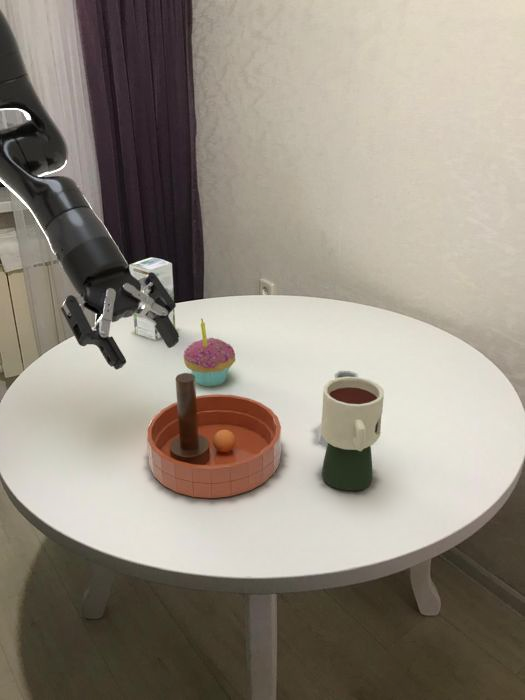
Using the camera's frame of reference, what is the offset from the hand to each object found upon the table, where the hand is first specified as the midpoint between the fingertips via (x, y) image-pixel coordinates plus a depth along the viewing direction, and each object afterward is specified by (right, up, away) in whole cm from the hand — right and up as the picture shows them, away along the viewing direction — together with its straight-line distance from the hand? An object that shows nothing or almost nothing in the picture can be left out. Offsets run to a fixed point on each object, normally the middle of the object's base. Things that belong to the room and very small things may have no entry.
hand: (149, 355), depth 76 cm
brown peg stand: (+5, -14, +2) cm, 15 cm away
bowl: (+8, -14, +3) cm, 16 cm away
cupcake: (+6, -5, +23) cm, 24 cm away
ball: (+9, -12, +3) cm, 15 cm away
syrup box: (-6, +4, +40) cm, 41 cm away
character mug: (+25, -16, -1) cm, 30 cm away
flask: (+26, -12, +7) cm, 29 cm away
